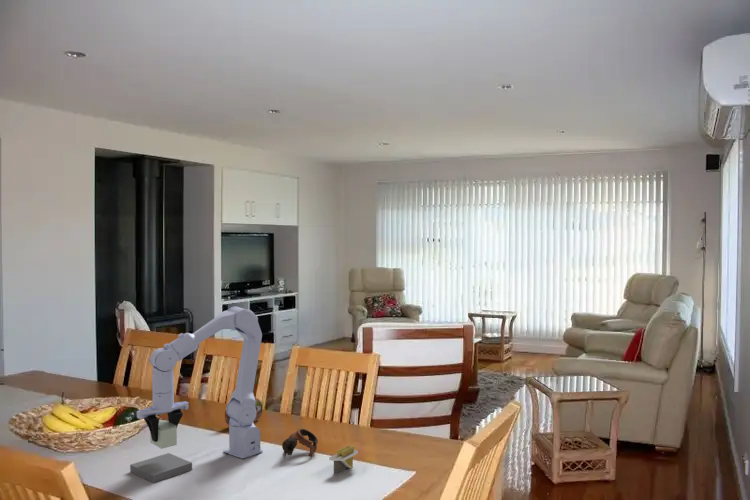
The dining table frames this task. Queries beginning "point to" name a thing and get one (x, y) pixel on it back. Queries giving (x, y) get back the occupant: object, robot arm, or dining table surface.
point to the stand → (160, 467)
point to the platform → (343, 458)
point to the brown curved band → (300, 441)
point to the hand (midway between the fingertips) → (163, 438)
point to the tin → (258, 409)
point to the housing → (166, 435)
